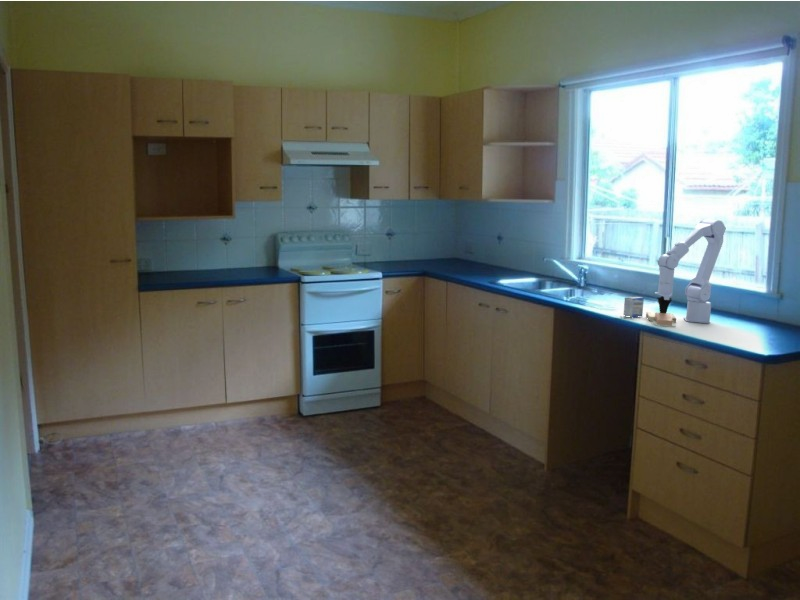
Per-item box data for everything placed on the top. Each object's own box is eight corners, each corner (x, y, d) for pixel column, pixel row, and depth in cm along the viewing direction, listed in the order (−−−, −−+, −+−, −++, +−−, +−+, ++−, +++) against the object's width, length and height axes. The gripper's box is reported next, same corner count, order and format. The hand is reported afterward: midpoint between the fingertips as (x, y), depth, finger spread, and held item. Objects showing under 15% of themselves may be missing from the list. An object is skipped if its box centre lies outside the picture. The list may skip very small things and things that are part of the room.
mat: (672, 322, 310) (672, 322, 310) (675, 326, 301) (675, 326, 301) (652, 321, 312) (652, 320, 312) (655, 325, 303) (655, 324, 303)
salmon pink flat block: (669, 317, 311) (670, 313, 310) (672, 325, 302) (672, 320, 302) (655, 316, 312) (655, 312, 311) (657, 324, 304) (657, 319, 303)
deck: (672, 318, 321) (672, 314, 321) (675, 323, 310) (676, 318, 310) (646, 316, 323) (646, 312, 323) (648, 321, 313) (649, 316, 312)
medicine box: (631, 318, 319) (633, 298, 317) (622, 316, 322) (624, 297, 321) (642, 316, 323) (644, 297, 322) (634, 315, 327) (635, 296, 325)
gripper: (654, 280, 317) (651, 311, 319) (658, 284, 303) (654, 316, 305) (671, 281, 316) (668, 312, 318) (675, 285, 302) (672, 317, 304)
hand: (662, 314), depth 312 cm, fingers closed
